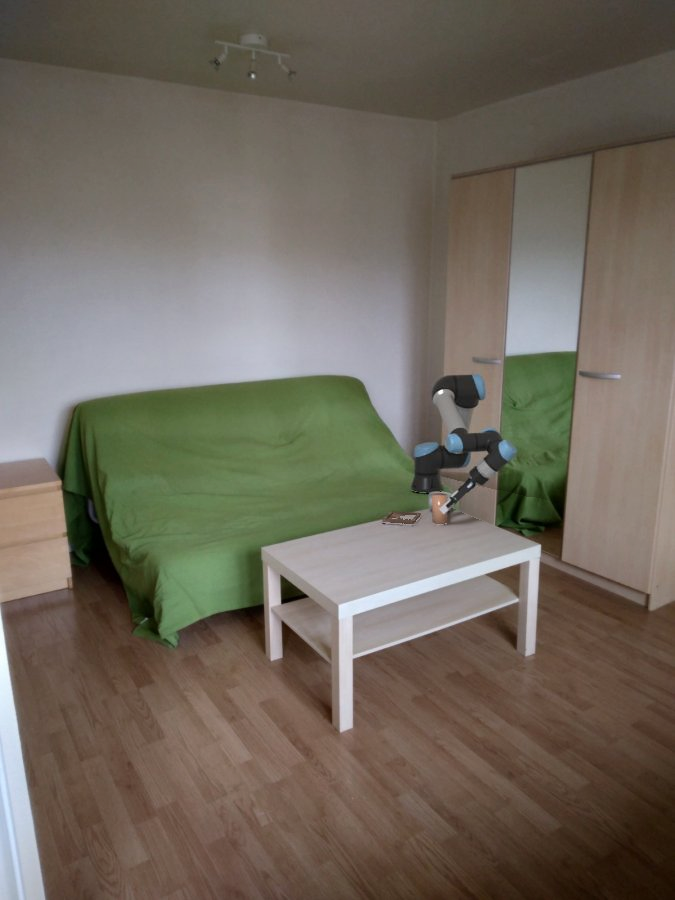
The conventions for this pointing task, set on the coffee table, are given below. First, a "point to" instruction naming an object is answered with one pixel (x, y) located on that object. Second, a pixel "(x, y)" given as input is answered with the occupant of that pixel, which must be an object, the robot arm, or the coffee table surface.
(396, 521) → the tray
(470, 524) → the coffee table surface
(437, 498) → the pillar candle
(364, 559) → the coffee table surface
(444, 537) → the coffee table surface
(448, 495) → the teacup
